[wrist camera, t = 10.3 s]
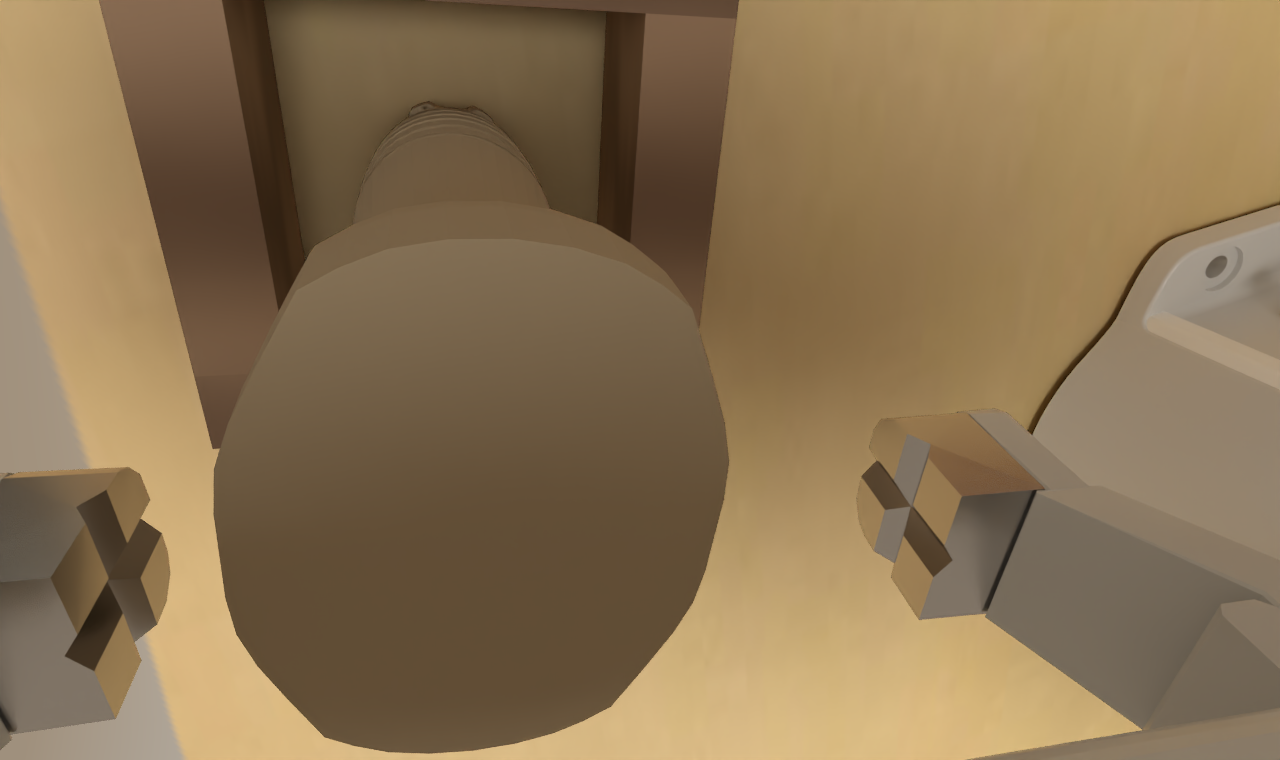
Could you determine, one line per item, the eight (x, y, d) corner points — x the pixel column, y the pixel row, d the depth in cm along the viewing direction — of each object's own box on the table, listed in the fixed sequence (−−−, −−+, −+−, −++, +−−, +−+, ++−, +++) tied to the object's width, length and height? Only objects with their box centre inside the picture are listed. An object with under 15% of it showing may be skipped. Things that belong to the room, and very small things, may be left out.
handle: (354, 269, 21) (251, 776, 8) (347, 14, 18) (170, 214, 5) (529, 278, 22) (664, 727, 10) (551, 42, 19) (787, 257, 7)
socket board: (136, -140, 16) (59, -158, 12) (691, -88, 19) (749, -92, 15) (245, 368, 22) (213, 448, 18) (652, 348, 24) (688, 414, 21)
